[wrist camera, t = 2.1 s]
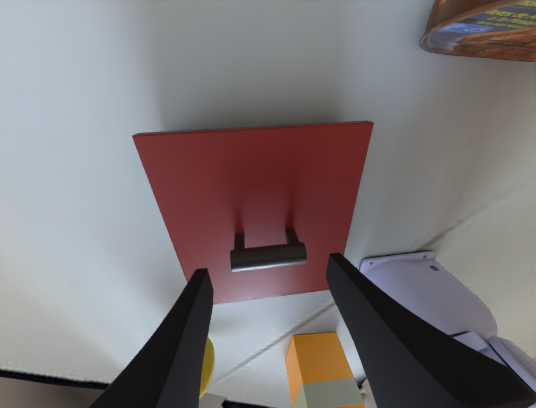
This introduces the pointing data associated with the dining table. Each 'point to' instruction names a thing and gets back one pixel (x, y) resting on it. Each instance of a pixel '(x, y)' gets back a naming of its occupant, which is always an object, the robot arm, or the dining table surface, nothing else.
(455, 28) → the tin
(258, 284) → the lid
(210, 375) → the lemon
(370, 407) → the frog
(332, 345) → the orange juice
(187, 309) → the robot arm
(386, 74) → the dining table surface
